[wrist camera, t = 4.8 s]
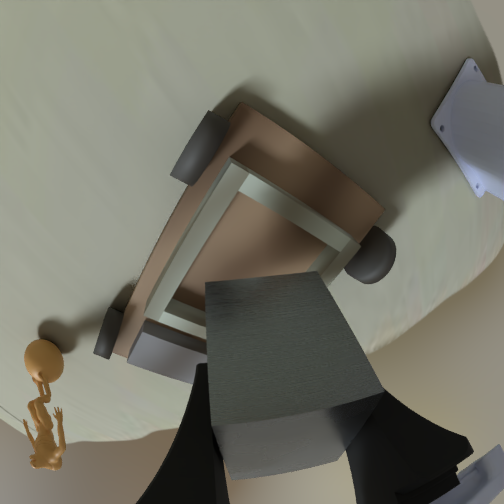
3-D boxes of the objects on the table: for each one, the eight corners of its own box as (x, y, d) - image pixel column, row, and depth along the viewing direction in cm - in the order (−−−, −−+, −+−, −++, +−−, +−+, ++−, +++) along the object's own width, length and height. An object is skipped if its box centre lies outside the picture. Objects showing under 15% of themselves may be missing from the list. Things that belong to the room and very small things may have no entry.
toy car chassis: (387, 212, 18) (417, 236, 15) (236, 383, 25) (241, 414, 22) (220, 91, 13) (224, 87, 10) (98, 336, 20) (88, 370, 17)
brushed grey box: (317, 270, 11) (384, 391, 6) (303, 363, 14) (337, 460, 9) (204, 282, 11) (211, 425, 6) (219, 374, 14) (231, 480, 9)
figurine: (53, 314, 18) (4, 442, 8) (105, 357, 21) (82, 481, 11) (20, 345, 20) (-17, 444, 9) (63, 380, 23) (41, 477, 12)
